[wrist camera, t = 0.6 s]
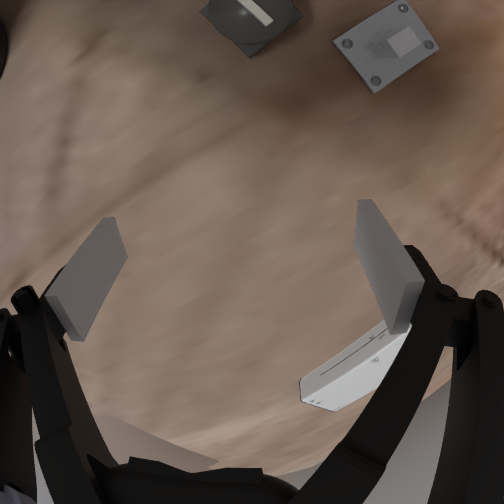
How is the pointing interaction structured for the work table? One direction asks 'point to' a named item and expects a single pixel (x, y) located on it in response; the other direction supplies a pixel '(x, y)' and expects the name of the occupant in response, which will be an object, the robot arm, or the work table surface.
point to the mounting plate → (386, 44)
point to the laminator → (352, 370)
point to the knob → (251, 21)
